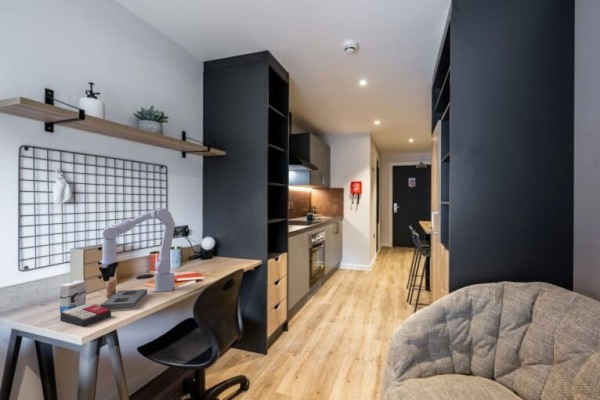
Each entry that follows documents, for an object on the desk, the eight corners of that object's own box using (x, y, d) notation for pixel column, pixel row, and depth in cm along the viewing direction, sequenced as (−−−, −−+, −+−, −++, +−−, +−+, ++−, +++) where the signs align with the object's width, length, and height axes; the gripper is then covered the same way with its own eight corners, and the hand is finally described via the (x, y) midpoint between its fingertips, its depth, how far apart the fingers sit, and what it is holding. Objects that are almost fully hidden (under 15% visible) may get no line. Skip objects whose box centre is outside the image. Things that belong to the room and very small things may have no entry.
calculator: (83, 318, 114) (60, 310, 120) (83, 329, 114) (59, 321, 120) (111, 308, 124) (88, 302, 130) (111, 318, 124) (88, 311, 130)
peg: (117, 295, 151) (117, 279, 150) (114, 298, 147) (114, 282, 147) (108, 296, 150) (108, 280, 150) (105, 298, 146) (105, 282, 146)
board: (147, 295, 152) (147, 289, 151) (133, 309, 132) (133, 302, 132) (119, 296, 149) (118, 290, 149) (100, 311, 129) (100, 304, 129)
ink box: (68, 313, 128) (68, 285, 128) (59, 312, 129) (59, 285, 129) (86, 306, 136) (86, 280, 136) (77, 305, 137) (77, 279, 137)
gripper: (105, 249, 152) (104, 275, 152) (94, 254, 139) (94, 283, 139) (120, 249, 154) (120, 275, 154) (111, 253, 141) (111, 282, 141)
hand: (108, 279), depth 147 cm, fingers open, 7 cm apart
